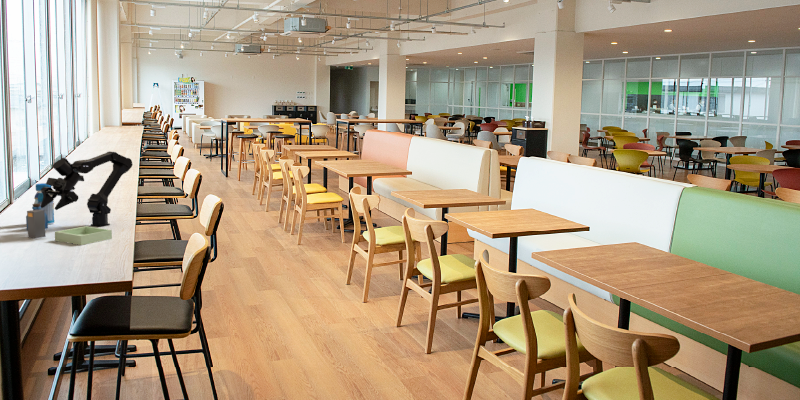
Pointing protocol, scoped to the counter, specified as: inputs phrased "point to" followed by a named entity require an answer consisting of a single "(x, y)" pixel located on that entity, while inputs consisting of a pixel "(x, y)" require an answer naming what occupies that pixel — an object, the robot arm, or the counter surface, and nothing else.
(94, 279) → the counter surface
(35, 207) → the perfume bottle
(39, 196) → the beverage bottle
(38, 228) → the grey square pillar
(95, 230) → the pale green tray
